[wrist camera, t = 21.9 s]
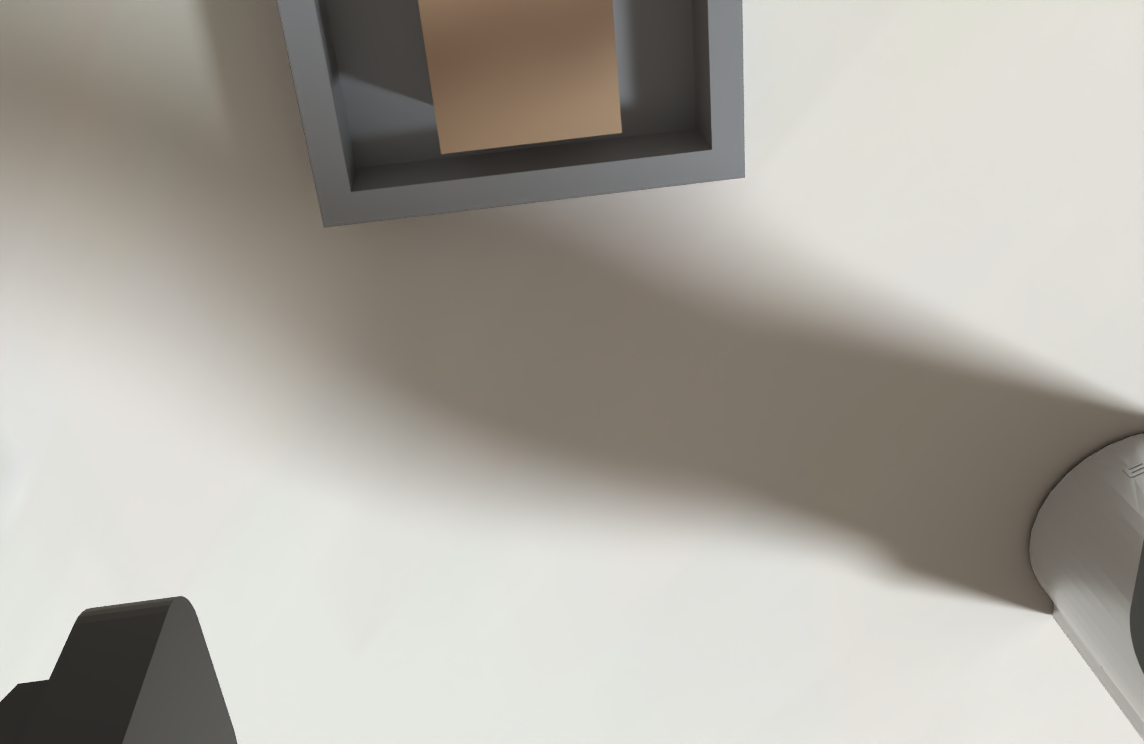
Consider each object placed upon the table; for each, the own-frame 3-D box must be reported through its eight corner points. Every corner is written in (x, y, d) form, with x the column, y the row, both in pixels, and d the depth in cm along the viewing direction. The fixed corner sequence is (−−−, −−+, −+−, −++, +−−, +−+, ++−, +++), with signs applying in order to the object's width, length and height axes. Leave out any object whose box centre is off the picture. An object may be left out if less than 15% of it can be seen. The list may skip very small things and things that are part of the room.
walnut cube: (599, 89, 35) (621, 132, 30) (441, 108, 34) (441, 154, 30) (586, -80, 32) (608, -60, 28) (416, -62, 32) (412, -39, 28)
